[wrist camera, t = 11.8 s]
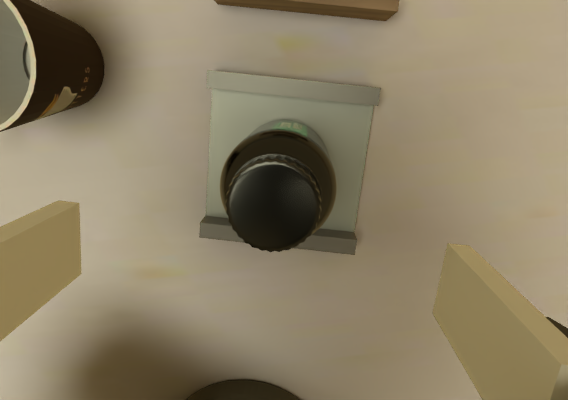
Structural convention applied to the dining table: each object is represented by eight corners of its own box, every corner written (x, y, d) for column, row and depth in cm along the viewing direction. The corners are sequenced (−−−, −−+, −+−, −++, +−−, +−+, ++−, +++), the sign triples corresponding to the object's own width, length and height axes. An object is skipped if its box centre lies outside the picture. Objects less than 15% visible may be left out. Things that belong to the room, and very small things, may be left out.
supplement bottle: (282, 98, 31) (268, 107, 19) (347, 161, 32) (372, 205, 20) (222, 165, 32) (176, 209, 21) (286, 222, 33) (276, 296, 22)
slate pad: (351, 243, 34) (354, 254, 32) (206, 227, 34) (199, 237, 32) (375, 87, 31) (380, 87, 28) (214, 71, 31) (207, 69, 29)
